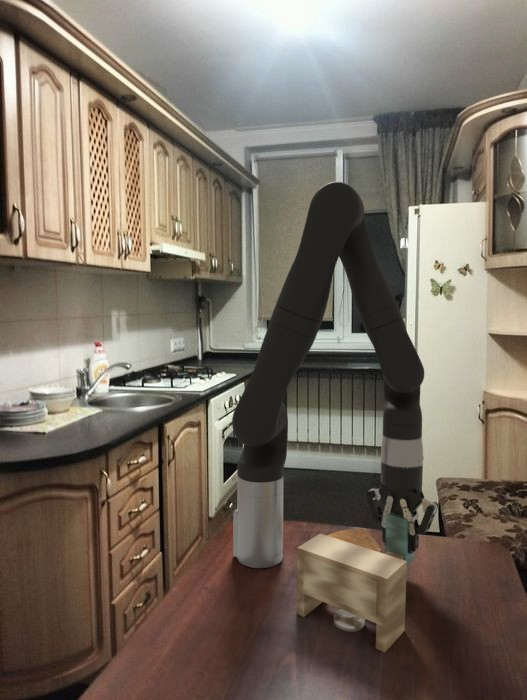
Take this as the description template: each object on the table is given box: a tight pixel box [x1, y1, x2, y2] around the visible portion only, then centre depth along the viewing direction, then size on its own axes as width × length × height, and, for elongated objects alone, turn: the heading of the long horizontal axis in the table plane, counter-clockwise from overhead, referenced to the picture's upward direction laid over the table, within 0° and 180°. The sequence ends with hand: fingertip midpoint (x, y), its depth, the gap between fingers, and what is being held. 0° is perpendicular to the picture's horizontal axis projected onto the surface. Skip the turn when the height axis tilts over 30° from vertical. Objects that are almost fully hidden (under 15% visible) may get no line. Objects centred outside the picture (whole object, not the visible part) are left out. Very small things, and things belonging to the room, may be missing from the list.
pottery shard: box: [326, 527, 382, 553], centre depth 117 cm, size 10×9×2 cm
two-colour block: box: [384, 512, 416, 566], centre depth 98 cm, size 4×15×9 cm, turn 142°
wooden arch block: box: [296, 533, 408, 653], centre depth 88 cm, size 16×7×12 cm, turn 52°
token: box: [333, 608, 366, 633], centre depth 89 cm, size 5×5×1 cm
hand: (400, 548), depth 103 cm, fingers closed on two-colour block, 4 cm apart
